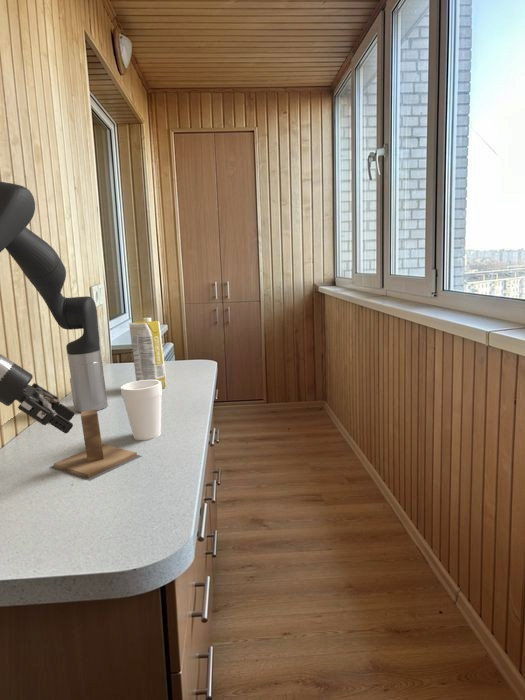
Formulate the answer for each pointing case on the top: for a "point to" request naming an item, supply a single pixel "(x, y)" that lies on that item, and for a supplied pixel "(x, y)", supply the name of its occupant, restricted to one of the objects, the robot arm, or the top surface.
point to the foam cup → (143, 407)
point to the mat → (100, 473)
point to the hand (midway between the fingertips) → (71, 423)
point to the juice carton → (148, 351)
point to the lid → (94, 451)
